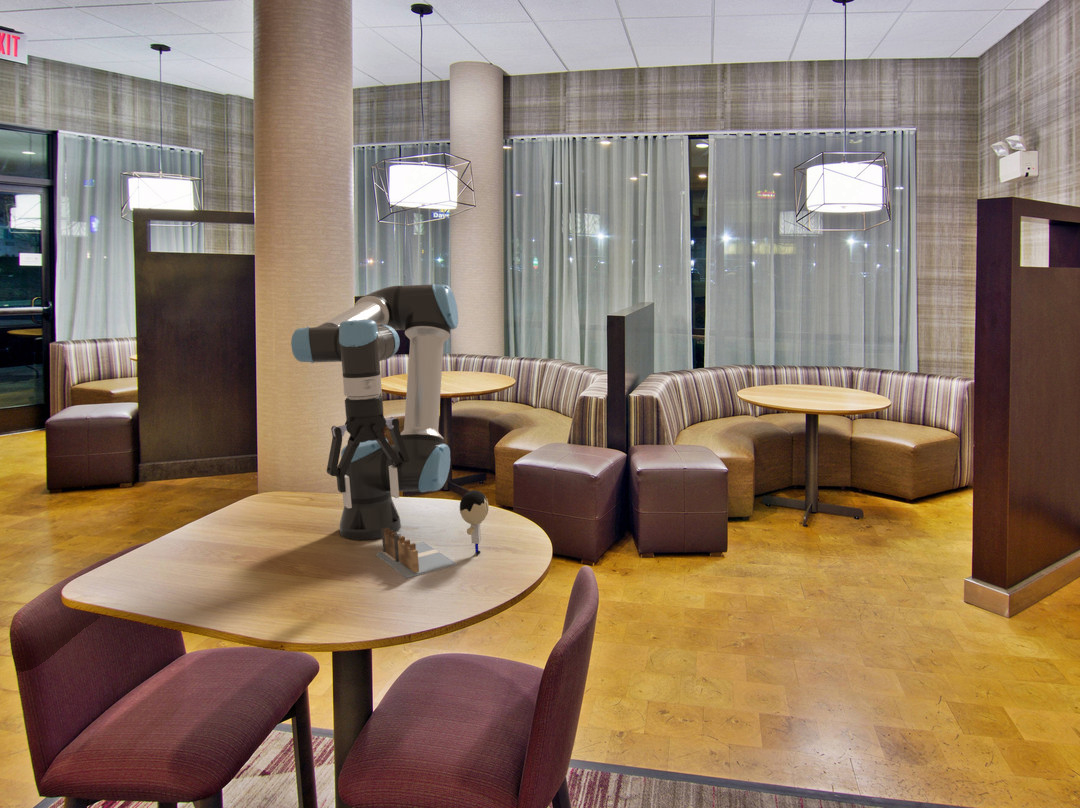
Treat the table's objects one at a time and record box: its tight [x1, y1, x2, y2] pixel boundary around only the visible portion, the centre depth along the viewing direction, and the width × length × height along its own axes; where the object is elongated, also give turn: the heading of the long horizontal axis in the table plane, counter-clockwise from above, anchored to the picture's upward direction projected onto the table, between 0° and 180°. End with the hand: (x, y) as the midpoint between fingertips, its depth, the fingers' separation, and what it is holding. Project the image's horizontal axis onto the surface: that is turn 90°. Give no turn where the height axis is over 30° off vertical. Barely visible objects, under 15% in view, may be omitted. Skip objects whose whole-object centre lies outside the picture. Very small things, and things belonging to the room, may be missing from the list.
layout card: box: [376, 541, 457, 579], centre depth 174 cm, size 17×12×1 cm
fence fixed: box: [381, 527, 402, 562], centre depth 176 cm, size 9×2×6 cm, turn 34°
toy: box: [459, 490, 490, 555], centre depth 175 cm, size 9×7×15 cm
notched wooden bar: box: [398, 535, 419, 573], centre depth 168 cm, size 8×1×6 cm, turn 34°
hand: (371, 501), depth 160 cm, fingers open, 10 cm apart
